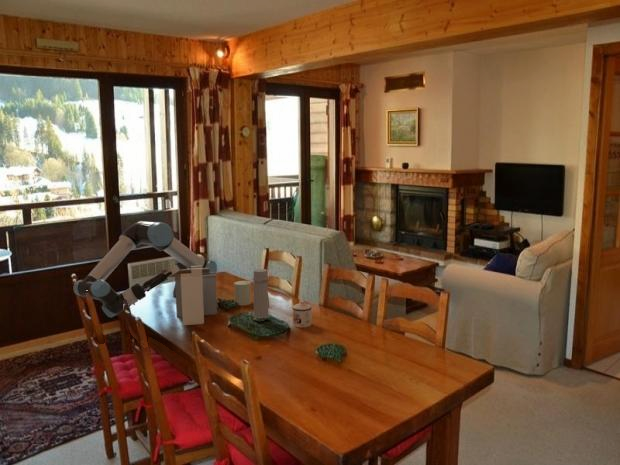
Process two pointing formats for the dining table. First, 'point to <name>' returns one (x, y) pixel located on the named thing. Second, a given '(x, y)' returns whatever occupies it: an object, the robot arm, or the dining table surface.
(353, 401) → the dining table surface
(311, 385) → the dining table surface
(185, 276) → the cream stand
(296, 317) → the teacup with lid
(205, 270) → the walnut pin
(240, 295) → the can
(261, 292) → the water bottle
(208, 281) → the grey box
